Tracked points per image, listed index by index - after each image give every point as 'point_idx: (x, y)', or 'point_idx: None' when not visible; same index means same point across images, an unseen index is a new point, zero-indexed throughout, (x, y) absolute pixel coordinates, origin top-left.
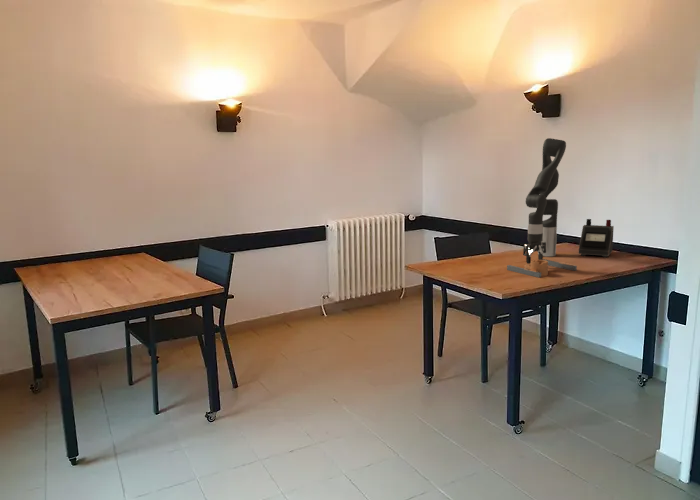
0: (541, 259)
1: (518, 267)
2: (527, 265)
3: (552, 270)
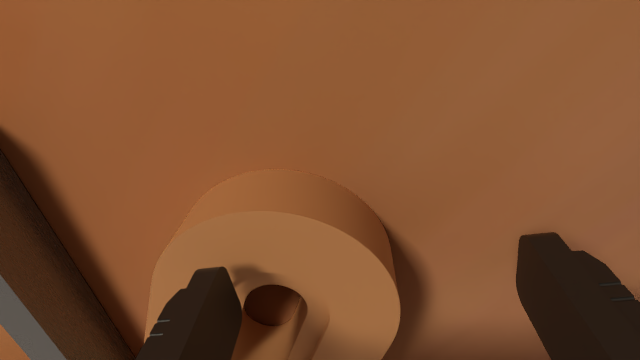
0: (538, 329)
1: (18, 321)
2: None
3: (477, 357)
